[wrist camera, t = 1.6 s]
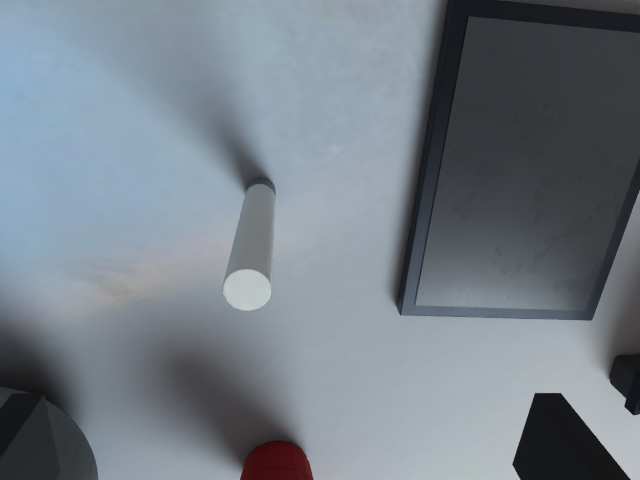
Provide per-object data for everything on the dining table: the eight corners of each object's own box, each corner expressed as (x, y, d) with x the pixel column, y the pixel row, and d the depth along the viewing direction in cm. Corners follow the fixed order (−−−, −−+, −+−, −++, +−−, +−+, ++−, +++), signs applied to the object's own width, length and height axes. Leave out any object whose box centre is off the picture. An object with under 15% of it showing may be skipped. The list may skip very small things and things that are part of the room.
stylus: (246, 177, 31) (222, 268, 18) (276, 178, 31) (272, 269, 18) (246, 204, 32) (222, 310, 19) (274, 206, 32) (270, 311, 19)
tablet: (448, -3, 28) (455, -5, 27) (686, 22, 29) (703, 20, 28) (396, 307, 36) (400, 316, 35) (583, 312, 38) (592, 321, 37)
